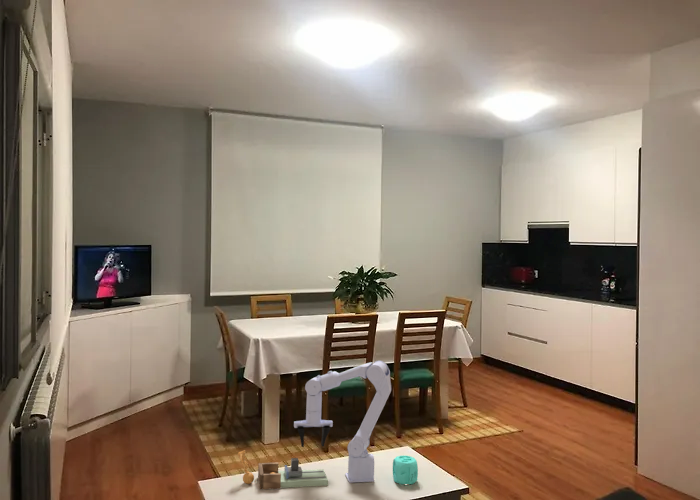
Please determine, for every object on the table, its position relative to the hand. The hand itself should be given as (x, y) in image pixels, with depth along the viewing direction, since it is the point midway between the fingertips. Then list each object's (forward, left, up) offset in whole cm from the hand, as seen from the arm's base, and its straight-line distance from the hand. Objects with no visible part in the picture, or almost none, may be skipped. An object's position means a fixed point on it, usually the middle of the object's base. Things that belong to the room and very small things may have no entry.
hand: (312, 445), depth 222 cm
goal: (+17, +8, -10) cm, 21 cm away
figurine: (+25, +8, -10) cm, 28 cm away
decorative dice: (-33, +12, -10) cm, 37 cm away
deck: (+5, +8, -10) cm, 14 cm away
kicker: (+8, +8, -8) cm, 14 cm away
